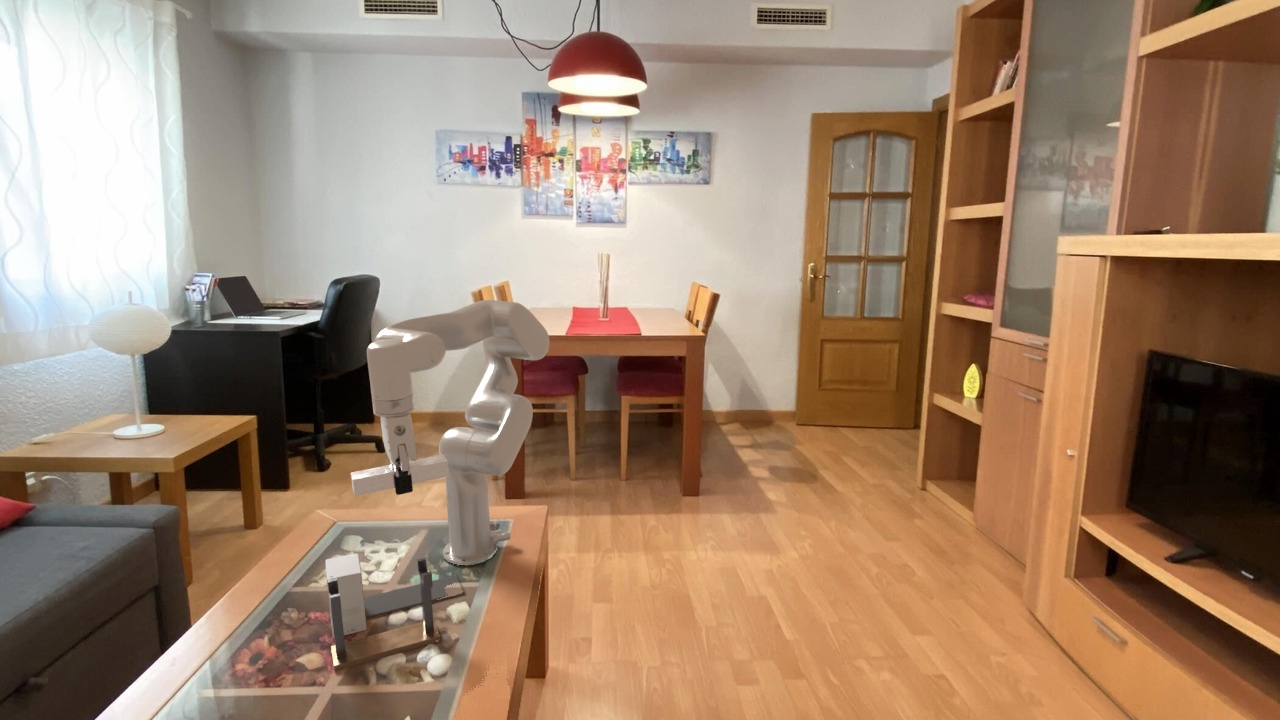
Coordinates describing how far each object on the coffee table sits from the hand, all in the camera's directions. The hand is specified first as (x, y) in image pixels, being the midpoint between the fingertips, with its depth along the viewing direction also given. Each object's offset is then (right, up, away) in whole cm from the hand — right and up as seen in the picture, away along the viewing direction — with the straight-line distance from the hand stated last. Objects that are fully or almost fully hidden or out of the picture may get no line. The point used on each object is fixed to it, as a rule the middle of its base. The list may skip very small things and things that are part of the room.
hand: (402, 487), depth 139 cm
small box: (-11, -28, 0) cm, 30 cm away
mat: (-1, -25, +9) cm, 27 cm away
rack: (-1, -29, -6) cm, 30 cm away
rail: (0, +1, 0) cm, 1 cm away
